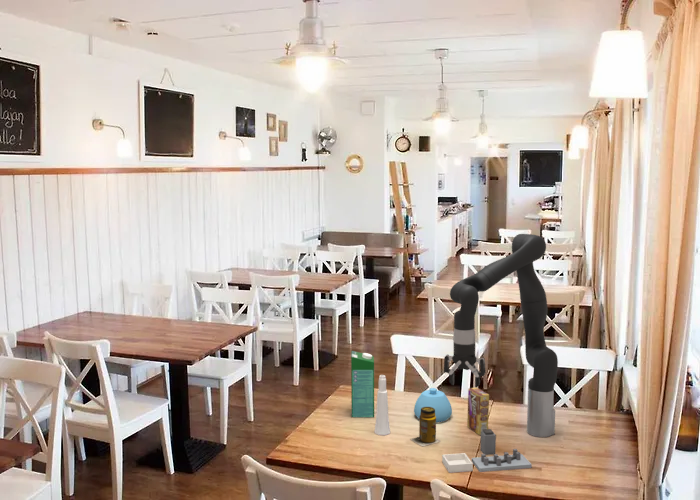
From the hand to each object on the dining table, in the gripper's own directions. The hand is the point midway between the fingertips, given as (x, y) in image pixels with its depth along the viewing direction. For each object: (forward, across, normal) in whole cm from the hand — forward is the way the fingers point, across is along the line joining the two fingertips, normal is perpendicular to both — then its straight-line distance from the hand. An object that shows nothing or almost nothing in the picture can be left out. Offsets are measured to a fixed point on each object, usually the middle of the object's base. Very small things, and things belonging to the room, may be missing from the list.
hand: (464, 385), depth 235 cm
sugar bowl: (+23, +18, -24) cm, 38 cm away
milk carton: (+22, +46, -17) cm, 54 cm away
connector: (+23, -8, +1) cm, 25 cm away
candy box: (+23, -1, -17) cm, 29 cm away
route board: (+23, -14, +9) cm, 29 cm away
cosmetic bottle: (+22, +32, -2) cm, 39 cm away
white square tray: (+23, -1, +16) cm, 28 cm away
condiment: (+23, +15, -1) cm, 27 cm away
